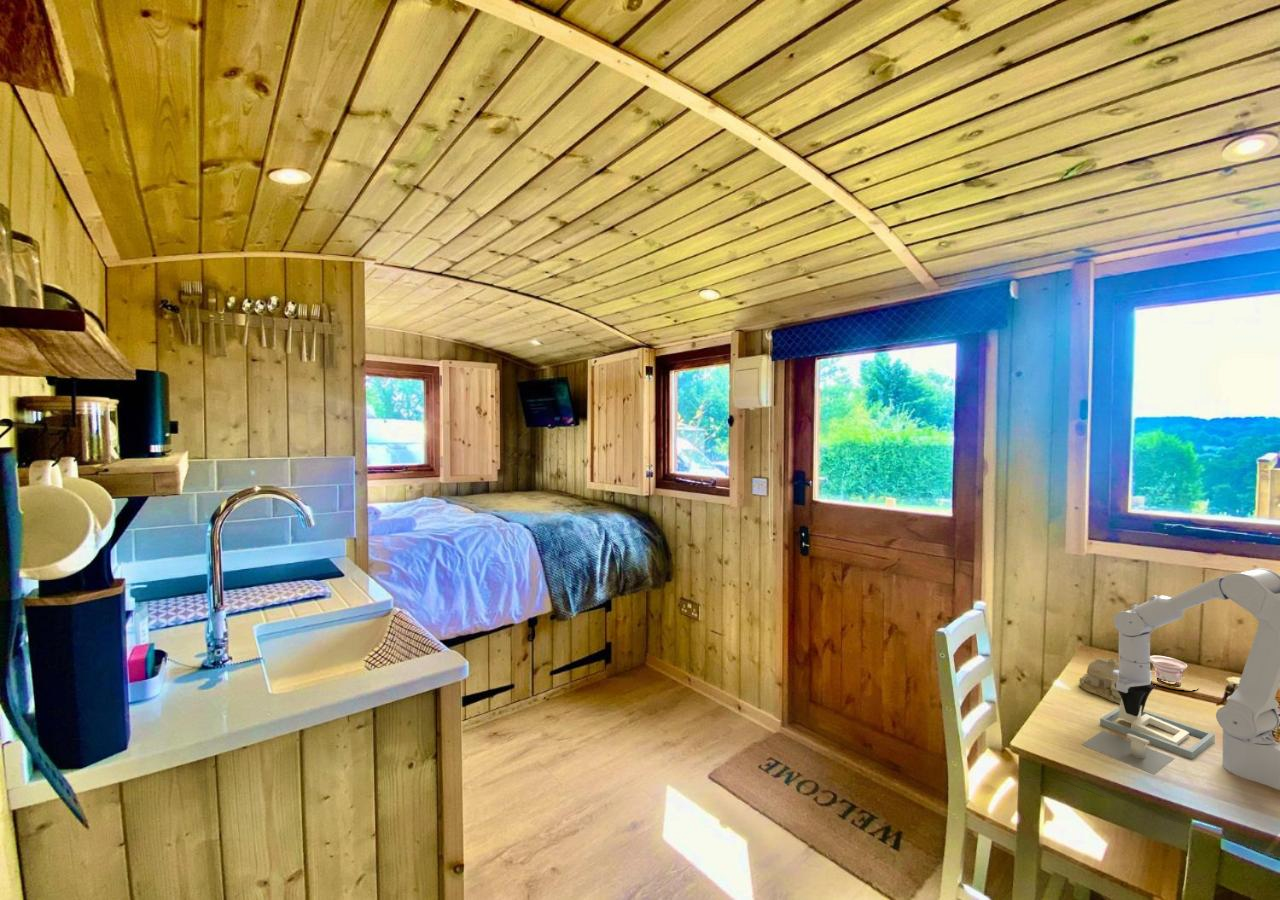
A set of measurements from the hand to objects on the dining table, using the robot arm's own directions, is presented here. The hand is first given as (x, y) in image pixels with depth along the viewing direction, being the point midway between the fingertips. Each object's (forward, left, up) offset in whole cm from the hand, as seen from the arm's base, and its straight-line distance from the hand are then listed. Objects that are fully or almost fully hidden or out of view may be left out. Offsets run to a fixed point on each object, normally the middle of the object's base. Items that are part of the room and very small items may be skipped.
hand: (1134, 713), depth 133 cm
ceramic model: (+11, -17, -4) cm, 20 cm away
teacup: (+5, -38, -4) cm, 39 cm away
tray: (-4, 0, -4) cm, 6 cm away
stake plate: (-4, +15, -4) cm, 16 cm away
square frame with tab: (-3, 0, -3) cm, 4 cm away
